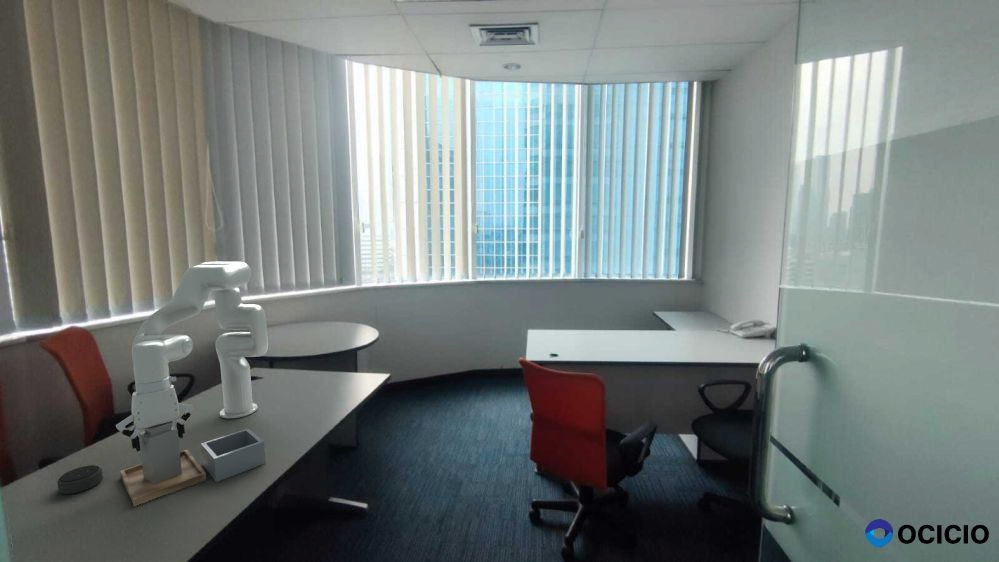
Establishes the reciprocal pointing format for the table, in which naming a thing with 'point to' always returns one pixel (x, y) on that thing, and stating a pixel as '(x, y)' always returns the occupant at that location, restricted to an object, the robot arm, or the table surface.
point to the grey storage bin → (232, 454)
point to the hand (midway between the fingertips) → (159, 442)
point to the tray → (147, 491)
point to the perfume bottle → (160, 453)
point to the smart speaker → (80, 479)
